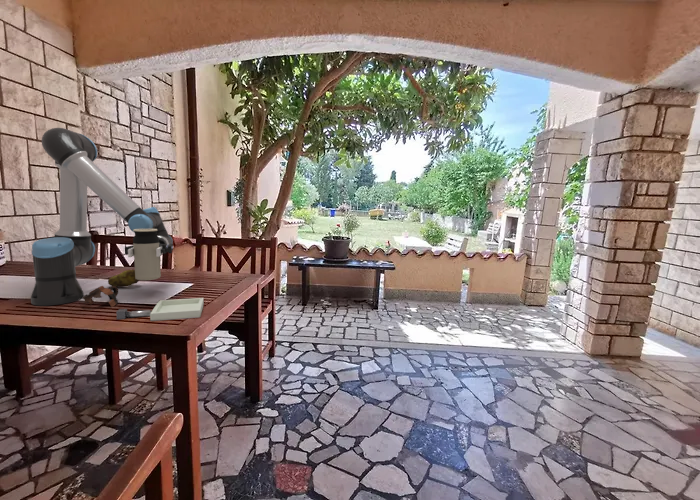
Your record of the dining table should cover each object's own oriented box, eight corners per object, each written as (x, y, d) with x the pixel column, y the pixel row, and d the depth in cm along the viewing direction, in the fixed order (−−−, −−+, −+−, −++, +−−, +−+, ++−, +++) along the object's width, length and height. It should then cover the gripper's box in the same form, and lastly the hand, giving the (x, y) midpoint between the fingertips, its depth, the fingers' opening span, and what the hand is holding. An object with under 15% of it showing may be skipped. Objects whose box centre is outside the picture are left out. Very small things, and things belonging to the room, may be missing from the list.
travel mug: (149, 281, 117) (146, 230, 115) (130, 279, 118) (126, 229, 116) (165, 276, 125) (163, 229, 122) (147, 275, 126) (144, 228, 124)
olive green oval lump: (123, 283, 153) (122, 266, 152) (145, 286, 150) (144, 268, 149) (105, 287, 146) (104, 269, 144) (128, 290, 142) (127, 272, 141)
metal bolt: (116, 319, 109) (116, 311, 109) (119, 316, 112) (118, 309, 112) (149, 317, 113) (148, 309, 112) (151, 314, 115) (150, 307, 115)
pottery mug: (108, 311, 118) (92, 292, 116) (89, 320, 121) (73, 302, 118) (130, 293, 130) (116, 276, 127) (112, 302, 132) (98, 285, 129)
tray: (150, 321, 109) (150, 313, 109) (159, 306, 123) (159, 300, 123) (200, 317, 114) (199, 310, 114) (203, 304, 128) (203, 297, 128)
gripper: (185, 253, 141) (177, 262, 120) (128, 255, 134) (109, 264, 113) (184, 236, 140) (176, 242, 119) (127, 236, 133) (107, 242, 112)
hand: (143, 253), depth 116 cm, fingers closed on travel mug, 8 cm apart
